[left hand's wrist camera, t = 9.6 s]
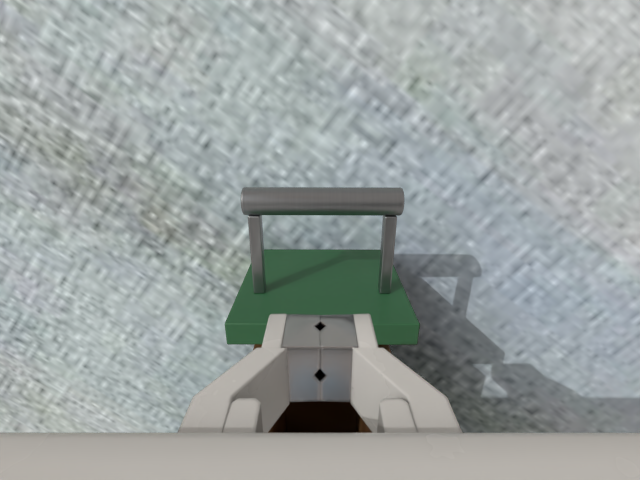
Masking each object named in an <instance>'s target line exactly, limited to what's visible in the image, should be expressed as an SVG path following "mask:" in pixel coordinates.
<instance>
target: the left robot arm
mask: <svg viewBox="0 0 640 480" xmlns="http://www.w3.org/2000/svg"><path fill="white" fill-rule="evenodd" d="M312 401H327V402H351V405H352V406H353V408H354V409H355V410H356V412H357V413H358V414H359V416H360V417H361V418H362V420H363V421H364V422H365V424H366V425H367V426H368V427H369V429H370V430H371V431H372V433H268V432H269V430H270V429H271V428H272V426H273V425H274V424H275V422H276V421H277V420H278V418H279V417H280V416H281V415H282V413H283V412H284V411H285V409H286V408H287V407H288V405H289V404H290V403H289V402H312ZM0 480H640V433H462V430H461V428H460V426H459V423H458V421H457V419H456V416H455V414H454V412H453V409H452V407H451V405H450V403H449V400H448V398H447V397H446V396H445V395H444V394H442V393H441V392H440V391H439V390H437V389H436V388H435V387H433V386H432V385H431V384H430V383H428V382H427V381H426V380H424V379H423V378H422V377H421V376H419V375H418V374H417V373H415V372H414V371H413V370H412V369H410V368H409V367H408V366H406V365H405V364H404V363H402V362H401V361H400V360H399V359H397V358H396V357H395V356H393V355H392V354H391V353H390V352H388V351H387V350H386V349H384V348H379V347H378V343H377V339H376V335H375V331H374V327H373V323H372V319H371V315H370V314H369V313H368V314H342V315H320V314H270V316H269V318H268V322H267V327H266V331H265V335H264V339H263V343H262V347H261V348H256V349H254V350H253V351H252V352H250V353H249V354H248V355H246V356H245V357H244V358H243V359H241V360H240V361H239V362H237V363H236V364H235V365H234V366H232V367H231V368H230V369H228V370H227V371H226V372H225V373H223V374H222V375H221V376H219V377H218V378H217V379H215V380H214V381H213V382H212V383H210V384H209V385H208V386H206V387H205V388H204V389H203V390H201V391H200V392H199V393H197V394H196V395H195V396H193V398H192V401H191V403H190V405H189V407H188V410H187V412H186V414H185V417H184V419H183V421H182V423H181V426H180V428H179V430H178V433H0Z"/></svg>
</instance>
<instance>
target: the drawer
mask: <svg viewBox="0 0 640 480" xmlns="http://www.w3.org/2000/svg"><path fill="white" fill-rule="evenodd" d="M241 208H242V212H243V214H244V215H249V216H248V225H249V237H250V250H251V265H250V267H249V269H248V272H247V274H246V276H245V278H244V281H243V283H242V285H241V288H240V290H239V292H238V295H237V297H236V299H235V302H234V304H233V306H232V308H231V311H230V313H229V315H228V318H227V320H226V322H225V330H226V339H227V344H255V345H254V349H256V348H261V347H262V343H263V339H264V335H265V331H266V327H267V322H268V318H269V316H270V314H320V315H342V314H368V313H369V314H370V315H371V319H372V323H373V327H374V331H375V335H376V339H377V343H378V347H379V348H384V349H386V350H387V351H388V352H390V353H391V350H390V347H389V345H417V343H418V335H419V327H420V324H419V322H418V319H417V317H416V315H415V313H414V310H413V308H412V306H411V304H410V301H409V299H408V297H407V295H406V292H405V290H404V288H403V286H402V283H401V281H400V279H399V277H398V275H397V272H396V270H395V268H394V266H393V257H394V246H395V234H396V223H397V216H396V215H401V214H402V212H403V209H404V192H403V189H402V188H306V187H244V188H243V189H242V192H241ZM262 215H383V224H382V238H381V250H264V245H263V229H262ZM254 349H253V350H254ZM289 403H290V404H289V405H288V407H287V408H286V409H285V411H284V412H283V413H282V415H281V416H280V417H279V418H278V420H277V421H276V422H275V424H274V425H273V426H272V428H271V429H270V430H269V432H268V433H372V431H371V430H370V429H369V427H368V426H367V425H366V424H365V422H364V421H363V420H362V418H361V417H360V416H359V414H358V413H357V412H356V410H355V409H354V408H353V406H352V405H351V402H327V401H312V402H289Z"/></svg>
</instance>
